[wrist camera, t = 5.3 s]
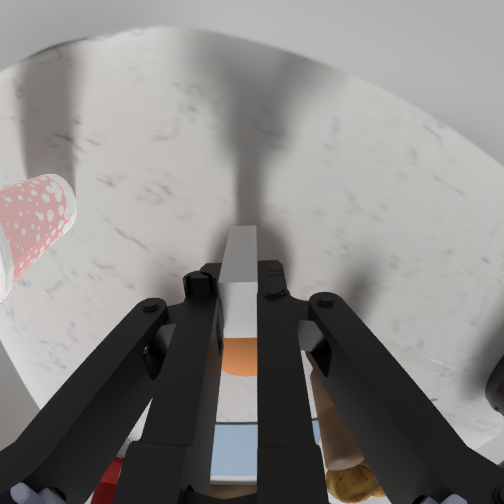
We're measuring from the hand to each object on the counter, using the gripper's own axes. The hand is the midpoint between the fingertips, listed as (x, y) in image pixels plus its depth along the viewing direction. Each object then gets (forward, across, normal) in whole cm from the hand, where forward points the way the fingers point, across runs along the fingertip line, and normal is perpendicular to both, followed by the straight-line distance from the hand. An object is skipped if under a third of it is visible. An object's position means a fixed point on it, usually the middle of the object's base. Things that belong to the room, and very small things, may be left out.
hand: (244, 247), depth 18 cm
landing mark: (+2, 0, +27) cm, 27 cm away
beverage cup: (+2, +14, -3) cm, 14 cm away
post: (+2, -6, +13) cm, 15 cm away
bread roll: (+2, -15, +33) cm, 36 cm away
